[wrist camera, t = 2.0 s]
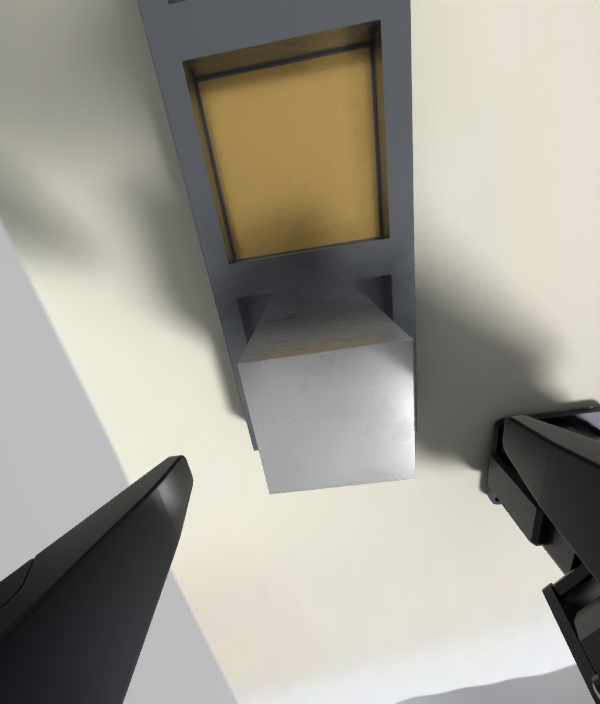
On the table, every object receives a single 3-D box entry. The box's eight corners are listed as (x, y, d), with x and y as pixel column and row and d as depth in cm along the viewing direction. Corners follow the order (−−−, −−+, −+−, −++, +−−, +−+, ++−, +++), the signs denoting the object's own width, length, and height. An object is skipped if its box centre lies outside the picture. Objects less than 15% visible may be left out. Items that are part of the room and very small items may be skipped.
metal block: (364, 294, 15) (412, 339, 8) (370, 383, 16) (415, 478, 10) (266, 309, 15) (237, 364, 8) (282, 394, 17) (269, 493, 10)
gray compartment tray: (379, -412, 8) (401, -604, 6) (404, 411, 18) (416, 431, 16) (77, -320, 9) (16, -470, 7) (258, 429, 18) (253, 450, 16)
